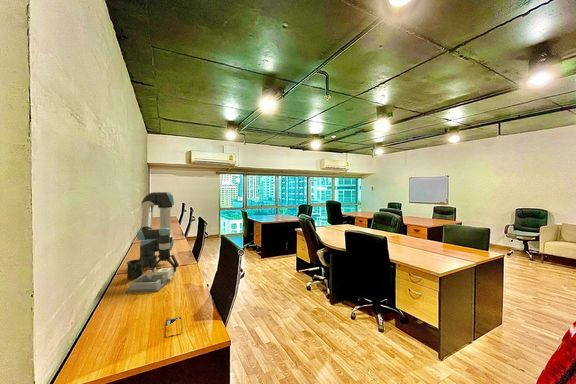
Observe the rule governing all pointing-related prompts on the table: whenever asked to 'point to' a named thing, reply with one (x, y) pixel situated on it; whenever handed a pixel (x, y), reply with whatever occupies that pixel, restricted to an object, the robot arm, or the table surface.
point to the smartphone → (171, 321)
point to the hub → (165, 272)
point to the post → (149, 275)
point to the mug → (134, 269)
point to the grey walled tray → (148, 283)
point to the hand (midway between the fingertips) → (164, 276)
